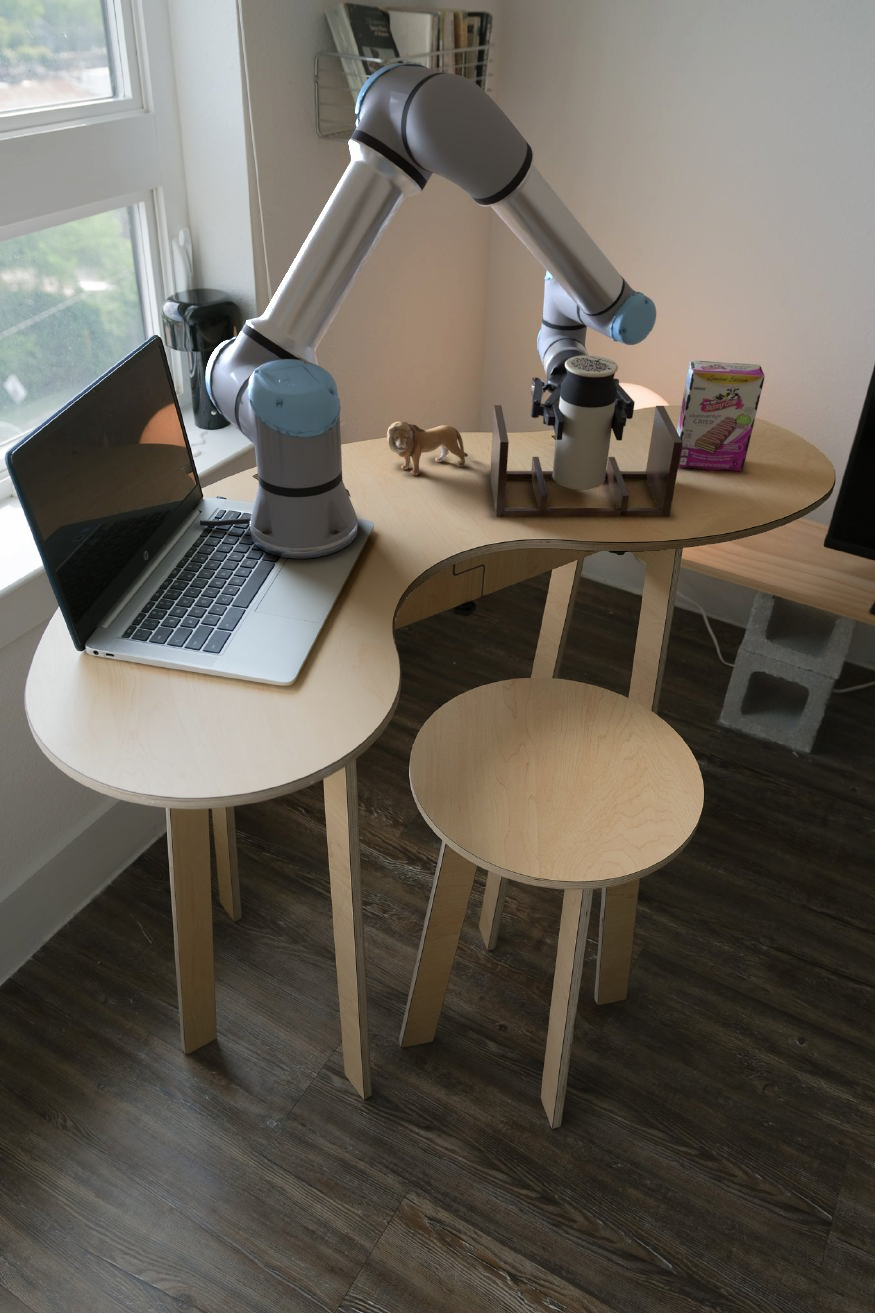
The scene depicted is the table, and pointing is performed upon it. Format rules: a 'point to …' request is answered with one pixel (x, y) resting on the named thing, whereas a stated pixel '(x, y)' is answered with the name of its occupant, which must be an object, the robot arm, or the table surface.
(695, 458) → the candy bar box
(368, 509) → the table surface
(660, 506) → the rack
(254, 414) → the robot arm
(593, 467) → the travel mug
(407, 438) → the lion figurine
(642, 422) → the table surface
